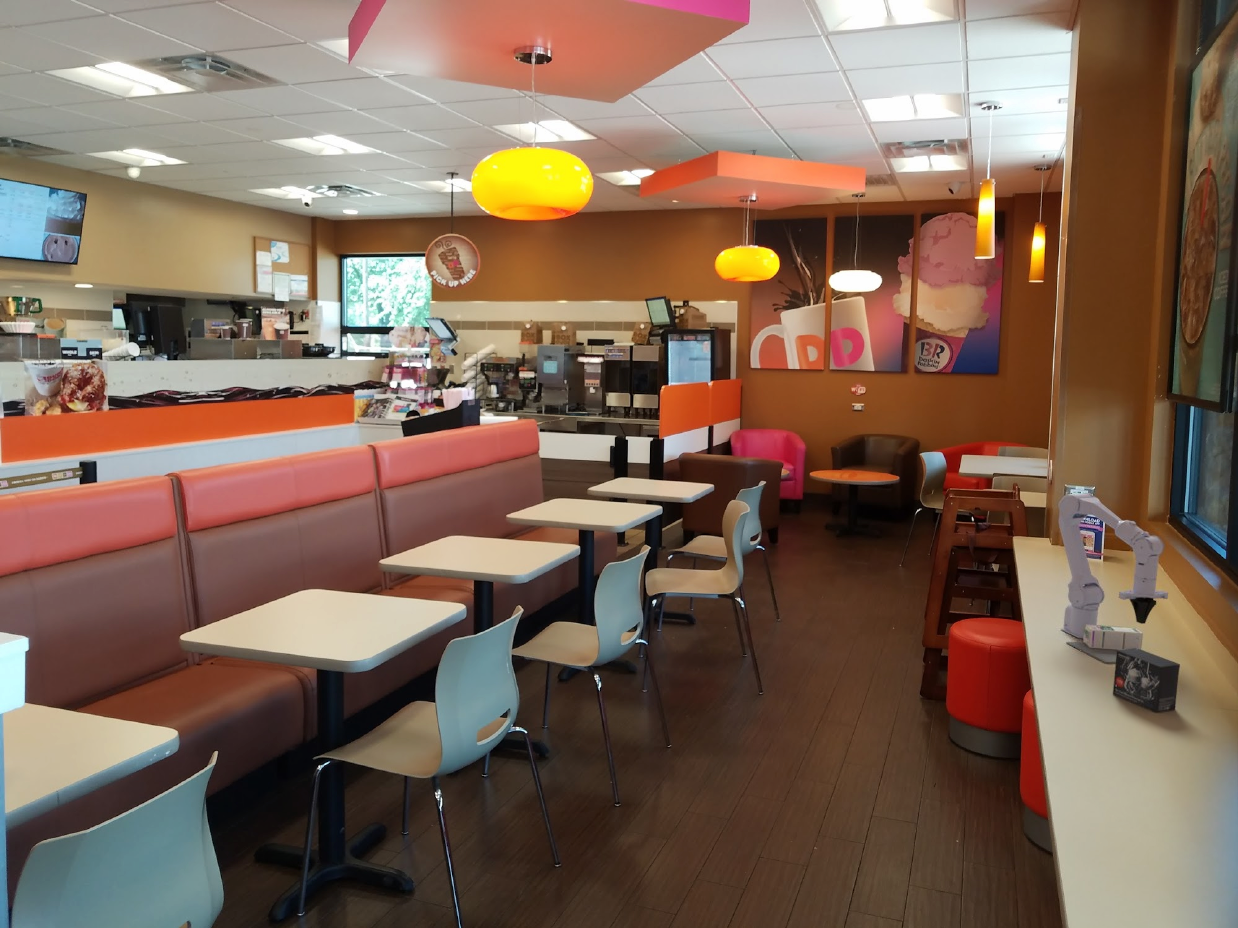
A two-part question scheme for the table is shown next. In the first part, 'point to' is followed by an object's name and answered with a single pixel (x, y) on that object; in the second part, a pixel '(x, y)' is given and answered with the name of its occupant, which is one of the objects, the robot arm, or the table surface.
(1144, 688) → the small box
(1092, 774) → the table surface
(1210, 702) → the table surface
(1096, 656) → the grey mat
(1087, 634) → the syrup box
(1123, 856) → the table surface
